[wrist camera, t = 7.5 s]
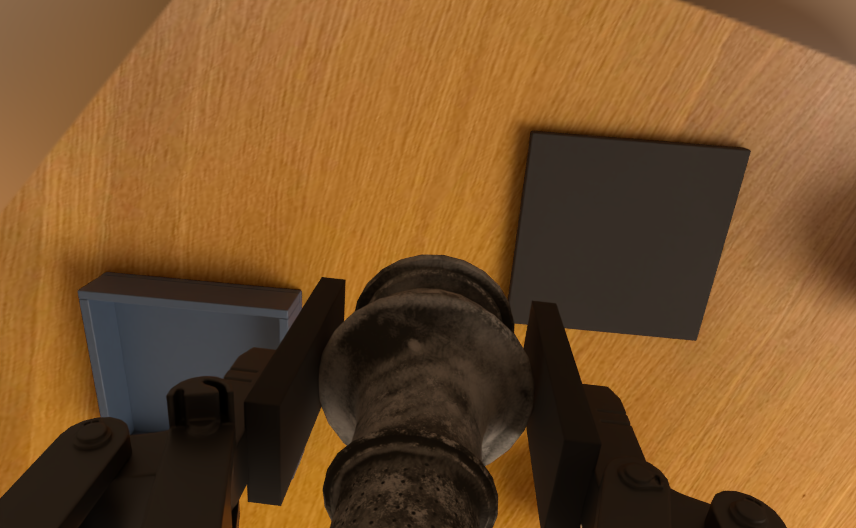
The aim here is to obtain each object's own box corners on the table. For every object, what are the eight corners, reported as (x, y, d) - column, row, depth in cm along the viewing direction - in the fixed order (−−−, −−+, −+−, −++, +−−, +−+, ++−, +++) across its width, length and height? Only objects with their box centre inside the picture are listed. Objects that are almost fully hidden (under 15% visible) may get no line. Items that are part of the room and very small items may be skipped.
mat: (530, 130, 32) (532, 132, 31) (745, 147, 31) (751, 150, 30) (505, 317, 36) (505, 323, 35) (692, 335, 36) (696, 341, 35)
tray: (106, 271, 37) (76, 290, 34) (301, 290, 37) (287, 310, 34) (132, 432, 42) (108, 460, 39) (304, 450, 41) (292, 480, 39)
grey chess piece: (478, 427, 20) (488, 933, 8) (322, 367, 19) (114, 818, 8) (555, 287, 17) (701, 722, 6) (380, 216, 17) (205, 549, 6)
